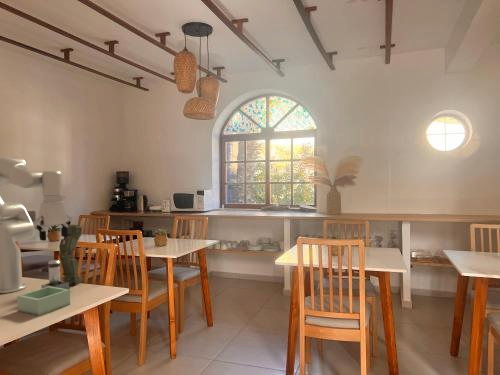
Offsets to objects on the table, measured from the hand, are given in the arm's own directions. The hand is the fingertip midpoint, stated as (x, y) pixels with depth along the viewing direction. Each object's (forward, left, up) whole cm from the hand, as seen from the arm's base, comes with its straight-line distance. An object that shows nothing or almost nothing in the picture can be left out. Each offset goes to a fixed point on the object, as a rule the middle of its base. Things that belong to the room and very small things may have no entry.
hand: (54, 238), depth 154 cm
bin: (+10, -12, -25) cm, 29 cm away
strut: (-1, 0, -22) cm, 22 cm away
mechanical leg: (-9, +14, -25) cm, 31 cm away
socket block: (-1, 0, -25) cm, 25 cm away
